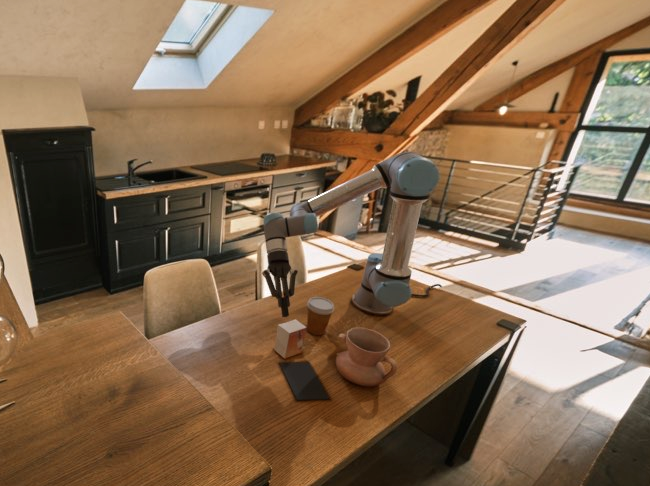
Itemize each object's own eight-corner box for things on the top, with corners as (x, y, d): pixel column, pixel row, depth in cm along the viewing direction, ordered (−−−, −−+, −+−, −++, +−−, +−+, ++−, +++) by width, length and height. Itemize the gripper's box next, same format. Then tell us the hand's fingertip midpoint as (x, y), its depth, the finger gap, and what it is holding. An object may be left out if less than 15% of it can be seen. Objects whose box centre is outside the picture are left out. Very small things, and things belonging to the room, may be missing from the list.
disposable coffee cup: (325, 324, 148) (331, 297, 143) (331, 339, 139) (338, 311, 134) (300, 322, 148) (305, 295, 144) (305, 336, 140) (310, 309, 135)
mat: (279, 363, 126) (279, 362, 126) (308, 362, 127) (308, 361, 127) (297, 400, 111) (297, 399, 111) (329, 399, 112) (330, 398, 112)
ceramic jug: (321, 369, 124) (330, 333, 118) (344, 352, 132) (353, 317, 127) (377, 404, 111) (389, 365, 105) (398, 382, 119) (411, 345, 114)
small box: (284, 359, 128) (289, 333, 124) (273, 349, 132) (277, 324, 128) (302, 352, 131) (307, 327, 127) (290, 343, 136) (295, 318, 132)
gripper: (290, 256, 146) (299, 318, 137) (257, 256, 145) (264, 318, 136) (298, 249, 139) (307, 313, 130) (263, 249, 138) (270, 314, 129)
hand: (285, 316), depth 133 cm, fingers closed
